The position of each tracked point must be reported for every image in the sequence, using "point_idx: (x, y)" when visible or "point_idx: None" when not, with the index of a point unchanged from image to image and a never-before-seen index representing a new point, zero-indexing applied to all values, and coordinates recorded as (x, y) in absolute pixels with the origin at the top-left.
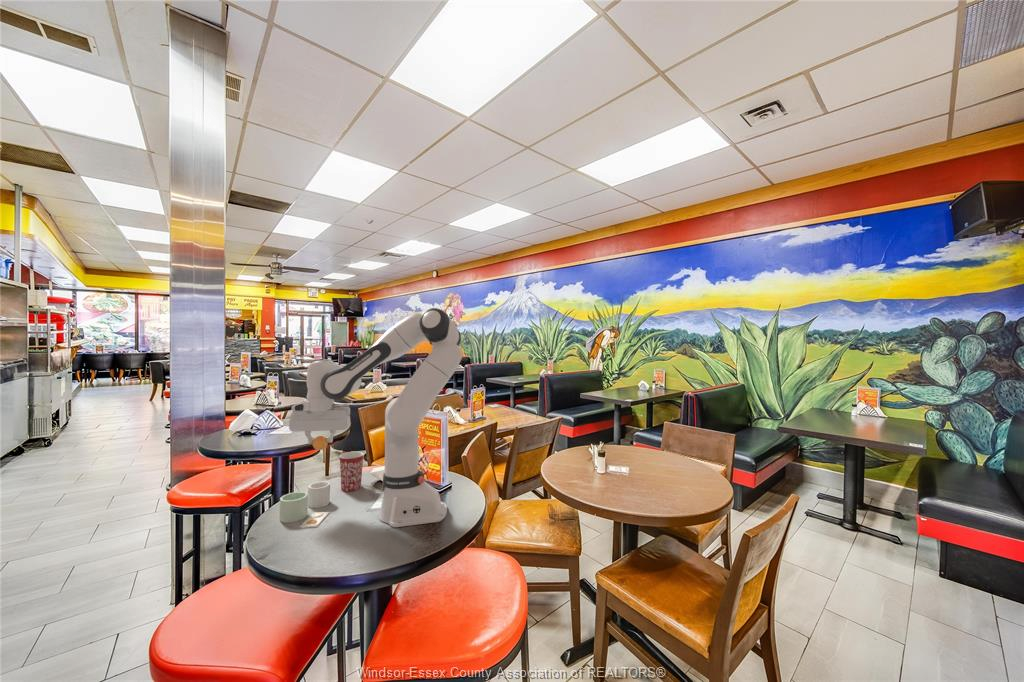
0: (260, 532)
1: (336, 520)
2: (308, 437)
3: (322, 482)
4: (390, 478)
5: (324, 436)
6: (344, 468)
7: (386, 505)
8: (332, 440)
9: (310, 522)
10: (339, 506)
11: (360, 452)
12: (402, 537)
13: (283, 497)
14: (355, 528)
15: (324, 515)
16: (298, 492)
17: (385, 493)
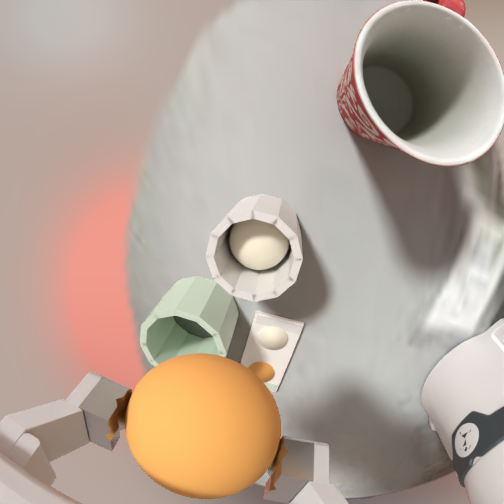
0: (149, 363)
1: (324, 371)
2: (70, 445)
3: (264, 221)
4: (463, 486)
5: (228, 482)
6: (377, 136)
7: (439, 430)
8: (325, 455)
9: (257, 373)
10: (336, 280)
11: (485, 45)
12: (427, 450)
13: (147, 335)
14: (363, 415)
15: (291, 343)
16: (184, 317)
17: (449, 443)
